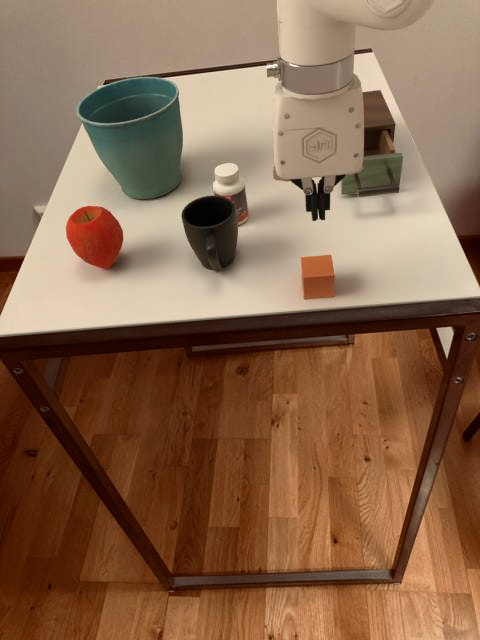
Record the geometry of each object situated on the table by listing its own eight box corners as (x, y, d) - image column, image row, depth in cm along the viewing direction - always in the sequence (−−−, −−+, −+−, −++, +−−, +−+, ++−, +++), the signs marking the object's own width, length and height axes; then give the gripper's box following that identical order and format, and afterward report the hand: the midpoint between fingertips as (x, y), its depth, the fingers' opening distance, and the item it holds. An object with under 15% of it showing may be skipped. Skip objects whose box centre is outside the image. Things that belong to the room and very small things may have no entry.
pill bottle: (223, 230, 88) (214, 181, 80) (215, 213, 91) (206, 165, 84) (253, 222, 88) (246, 172, 81) (243, 205, 92) (237, 156, 85)
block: (330, 276, 77) (331, 254, 74) (334, 297, 74) (334, 275, 71) (301, 278, 77) (300, 256, 74) (303, 299, 74) (303, 277, 71)
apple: (141, 252, 86) (123, 199, 78) (115, 286, 81) (93, 233, 73) (100, 244, 89) (78, 192, 81) (72, 276, 84) (46, 224, 76)
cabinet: (391, 164, 95) (395, 123, 89) (331, 171, 96) (331, 131, 90) (377, 129, 104) (380, 89, 98) (322, 135, 105) (322, 96, 99)
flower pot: (104, 170, 106) (74, 89, 93) (187, 150, 107) (169, 67, 95) (110, 219, 94) (77, 133, 81) (204, 196, 95) (186, 108, 83)
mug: (191, 296, 78) (178, 248, 71) (193, 245, 86) (182, 198, 79) (245, 289, 77) (237, 241, 70) (241, 240, 85) (234, 191, 78)
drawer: (407, 210, 84) (412, 176, 79) (346, 216, 85) (348, 183, 80) (384, 151, 96) (387, 119, 92) (332, 157, 97) (332, 126, 93)
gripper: (244, 94, 51) (260, 237, 64) (397, 76, 49) (381, 227, 63) (245, 63, 56) (260, 202, 69) (384, 47, 54) (371, 192, 68)
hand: (317, 214), depth 66 cm, fingers closed
